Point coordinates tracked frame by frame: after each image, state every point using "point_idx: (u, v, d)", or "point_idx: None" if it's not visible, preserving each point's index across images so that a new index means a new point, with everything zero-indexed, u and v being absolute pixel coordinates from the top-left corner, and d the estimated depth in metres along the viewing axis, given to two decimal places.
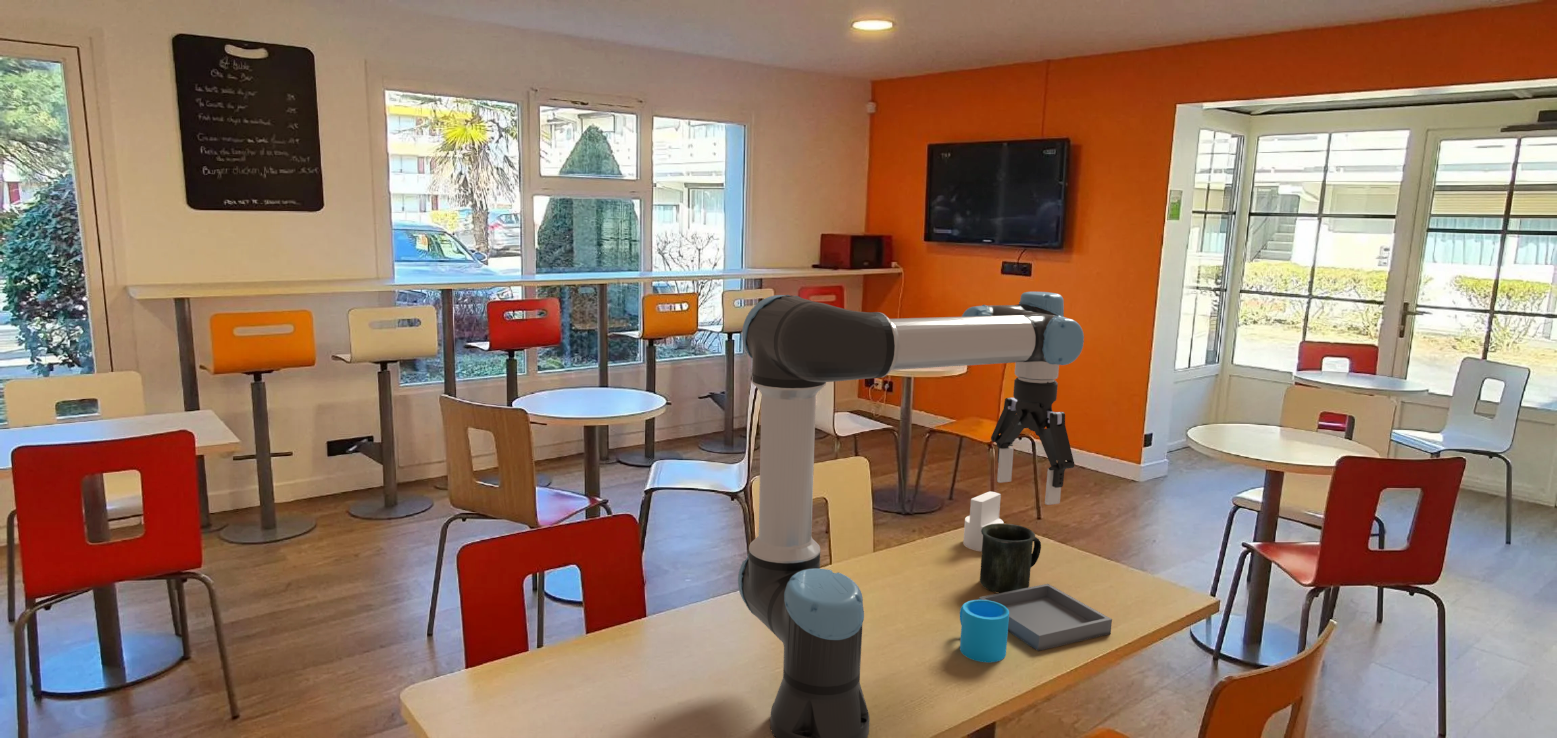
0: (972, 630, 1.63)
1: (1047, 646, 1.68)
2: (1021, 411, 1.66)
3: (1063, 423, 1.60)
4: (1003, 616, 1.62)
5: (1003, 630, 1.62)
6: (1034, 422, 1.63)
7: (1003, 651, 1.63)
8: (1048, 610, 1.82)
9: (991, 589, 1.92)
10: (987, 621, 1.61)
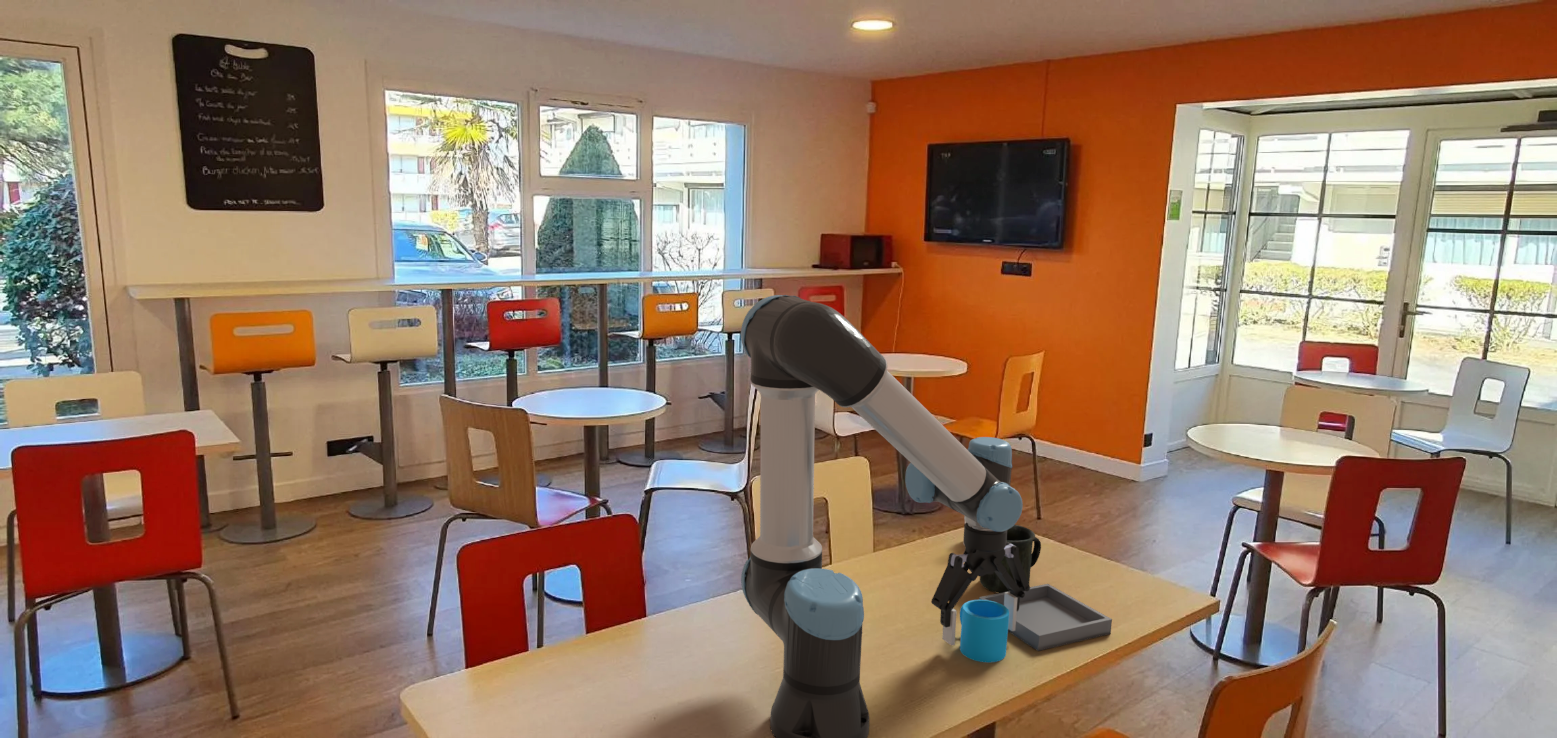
0: (972, 630, 1.63)
1: (1047, 646, 1.68)
2: None
3: (954, 567, 1.61)
4: (1003, 616, 1.62)
5: (1003, 630, 1.62)
6: None
7: (1003, 651, 1.63)
8: (1048, 610, 1.82)
9: (991, 589, 1.92)
10: (987, 621, 1.61)
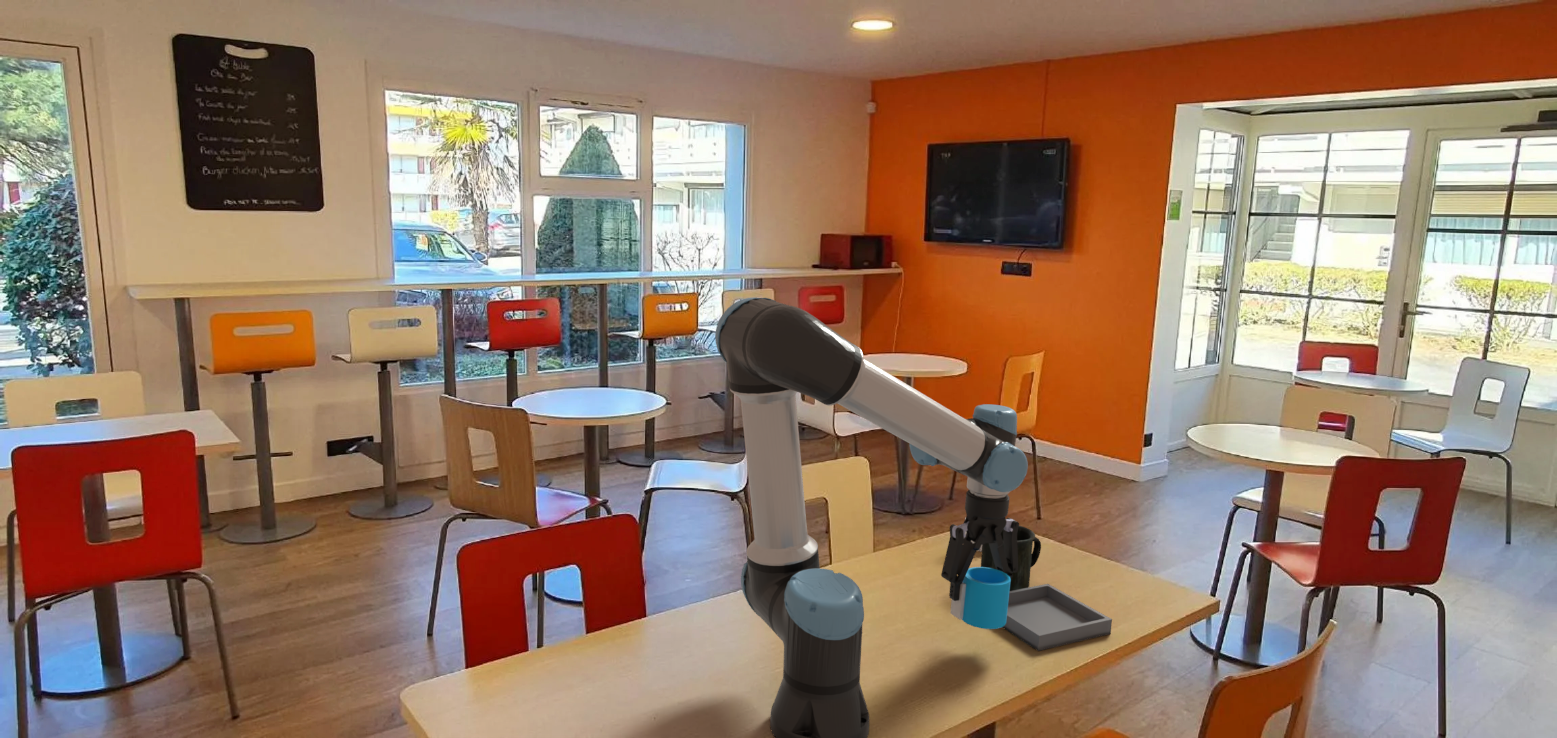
0: (973, 596, 1.61)
1: (1047, 646, 1.68)
2: None
3: (956, 539, 1.61)
4: (1005, 582, 1.61)
5: (1004, 597, 1.61)
6: None
7: (1004, 618, 1.62)
8: (1048, 610, 1.82)
9: None
10: (989, 587, 1.60)
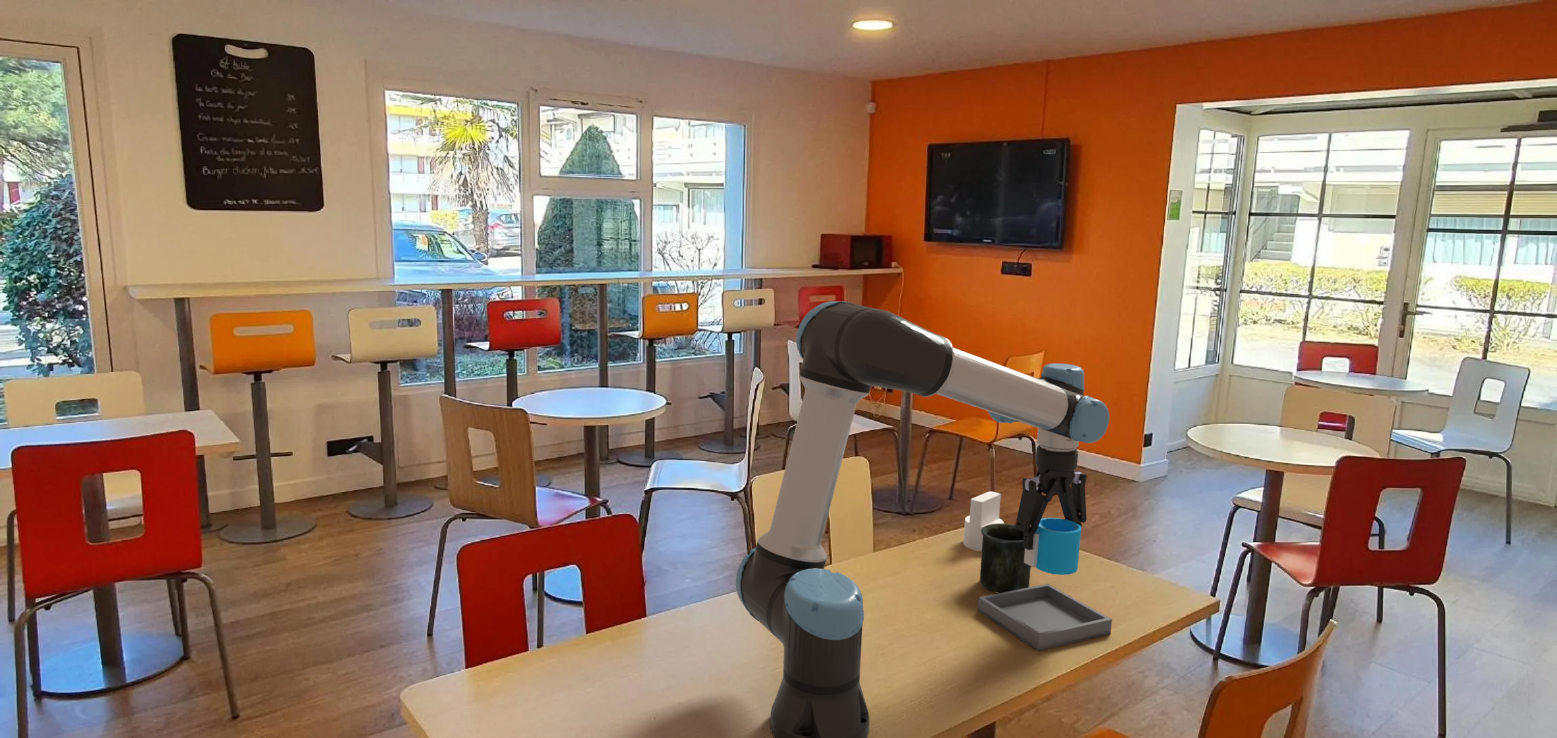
0: (1047, 544, 1.71)
1: (1047, 646, 1.68)
2: None
3: (1030, 491, 1.70)
4: (1076, 530, 1.70)
5: (1076, 544, 1.71)
6: None
7: (1076, 564, 1.72)
8: (1048, 610, 1.82)
9: (991, 589, 1.92)
10: (1061, 535, 1.69)
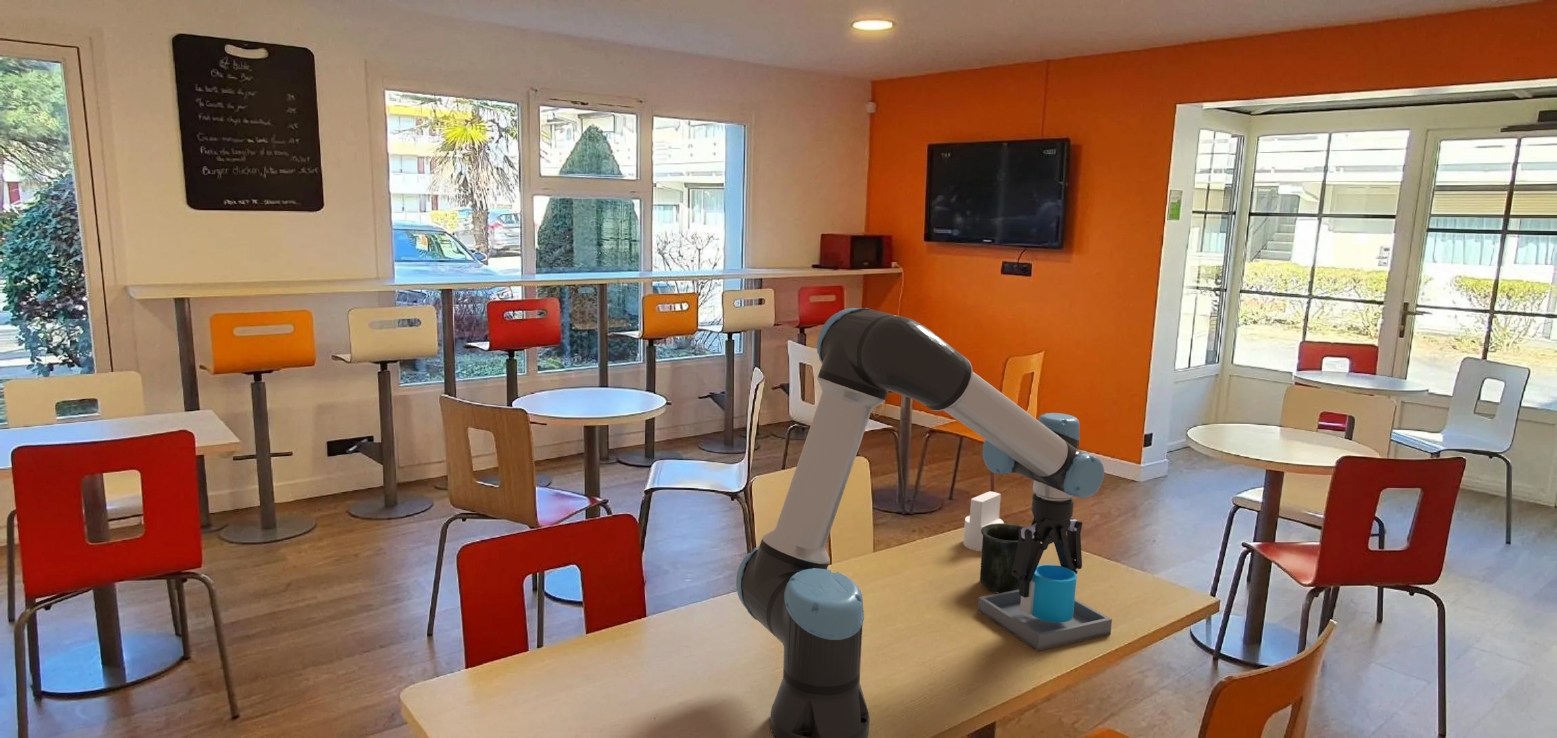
0: (1042, 592, 1.72)
1: (1047, 646, 1.68)
2: None
3: (1026, 540, 1.72)
4: (1072, 579, 1.72)
5: (1072, 592, 1.72)
6: None
7: (1071, 612, 1.73)
8: None
9: (991, 589, 1.92)
10: (1057, 583, 1.71)
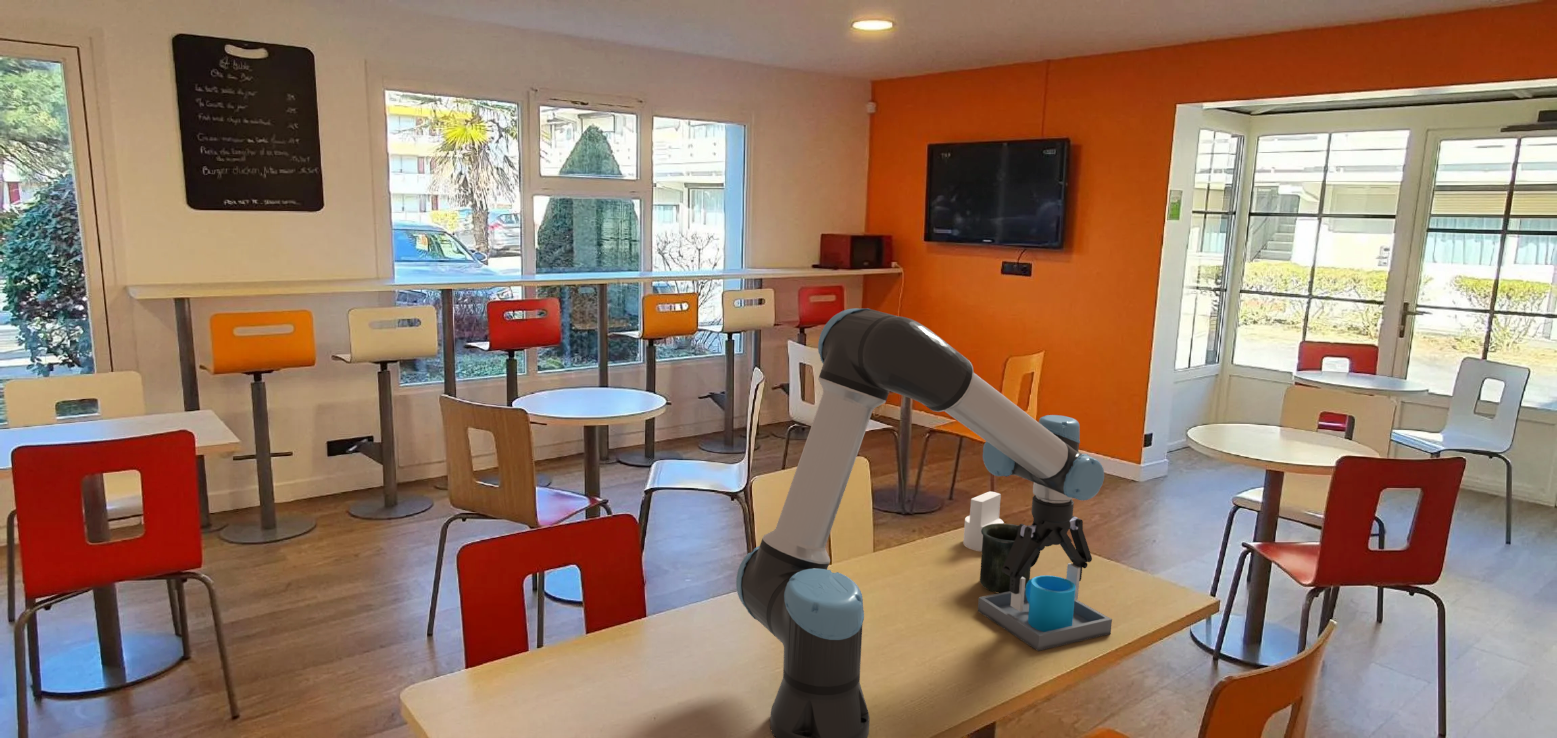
0: (1041, 603, 1.73)
1: (1047, 646, 1.68)
2: None
3: (1024, 537, 1.71)
4: (1071, 590, 1.72)
5: (1071, 603, 1.73)
6: None
7: (1070, 623, 1.74)
8: None
9: (991, 589, 1.92)
10: (1056, 594, 1.71)
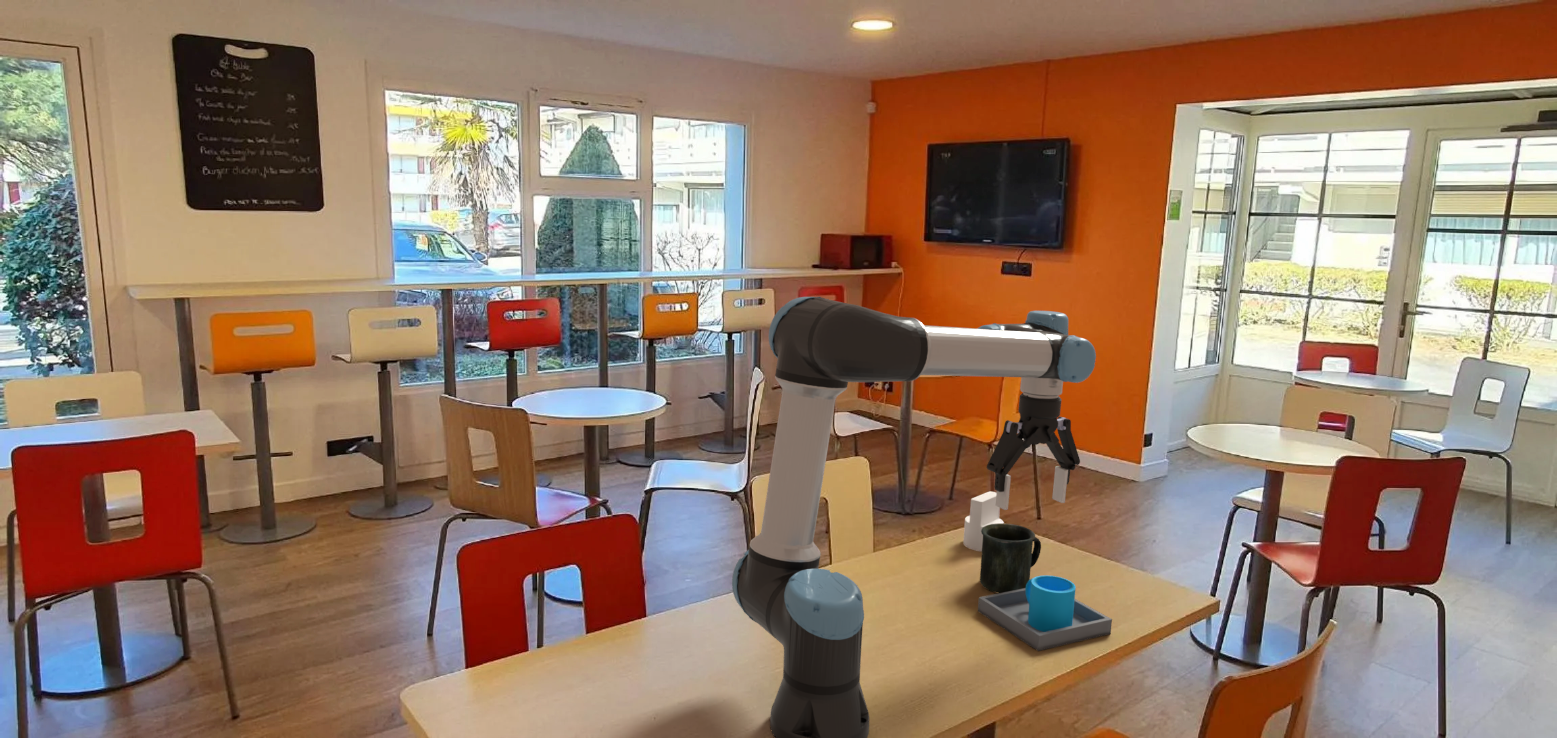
0: (1041, 603, 1.73)
1: (1047, 646, 1.68)
2: None
3: (1010, 432, 1.68)
4: (1071, 590, 1.72)
5: (1071, 603, 1.73)
6: None
7: (1070, 623, 1.74)
8: None
9: (991, 589, 1.92)
10: (1056, 594, 1.71)
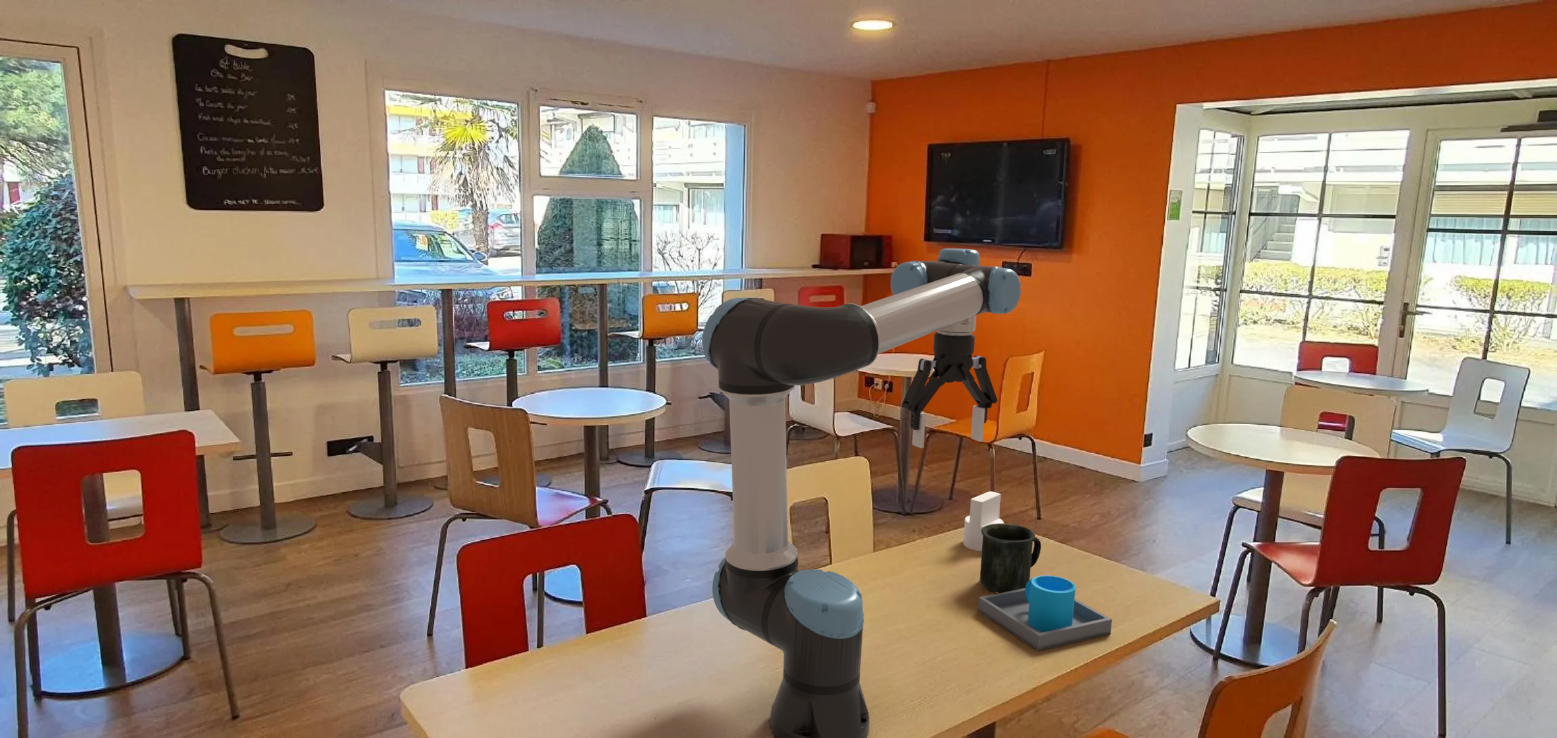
0: (1041, 603, 1.73)
1: (1047, 646, 1.68)
2: None
3: (923, 370, 1.68)
4: (1071, 590, 1.72)
5: (1071, 603, 1.73)
6: None
7: (1070, 623, 1.74)
8: None
9: (991, 589, 1.92)
10: (1056, 594, 1.71)
